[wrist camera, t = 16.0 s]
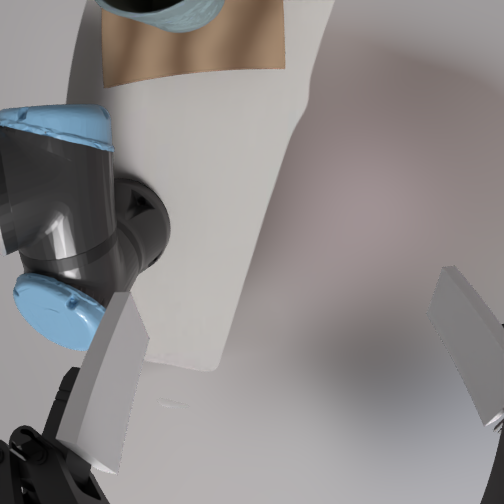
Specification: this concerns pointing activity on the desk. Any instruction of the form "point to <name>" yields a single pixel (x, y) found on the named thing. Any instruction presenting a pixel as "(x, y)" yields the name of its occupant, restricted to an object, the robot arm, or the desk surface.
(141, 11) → the teal plant pot
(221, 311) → the desk surface
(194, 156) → the desk surface
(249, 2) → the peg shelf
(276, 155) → the desk surface
